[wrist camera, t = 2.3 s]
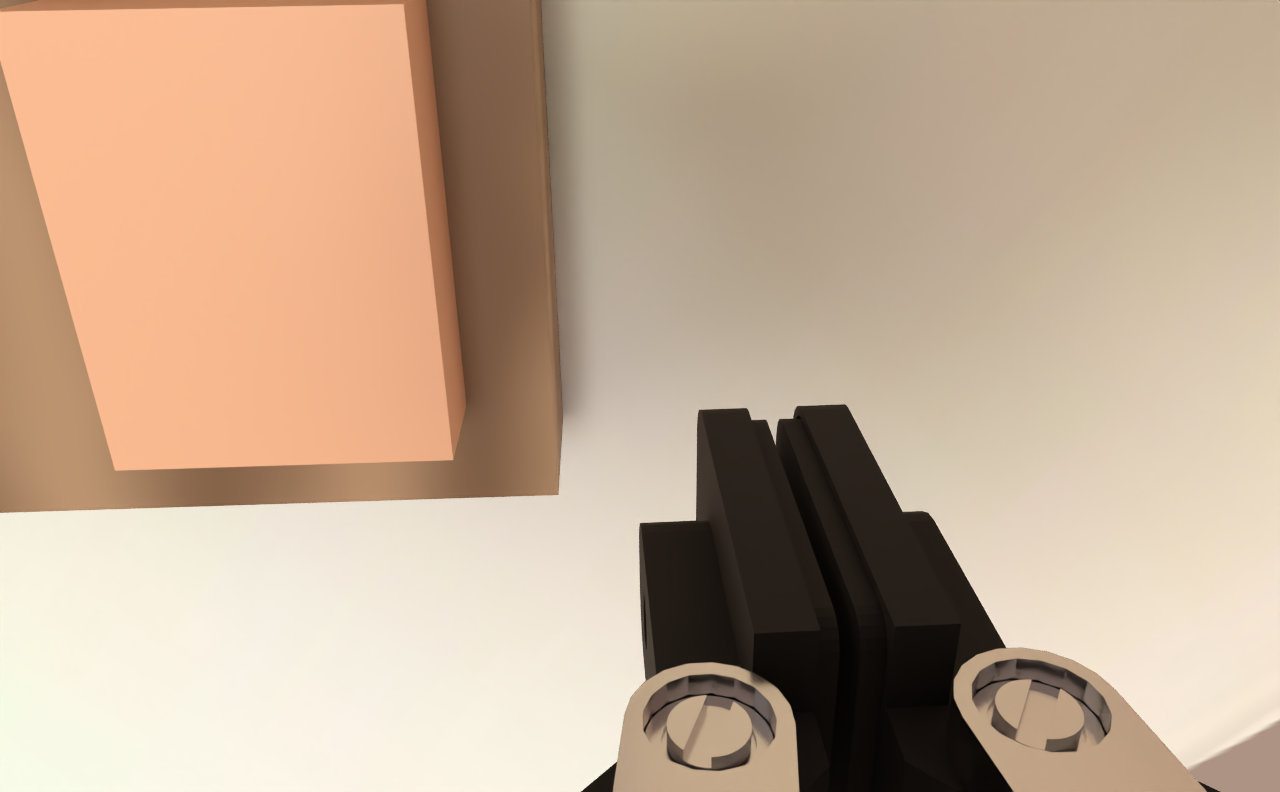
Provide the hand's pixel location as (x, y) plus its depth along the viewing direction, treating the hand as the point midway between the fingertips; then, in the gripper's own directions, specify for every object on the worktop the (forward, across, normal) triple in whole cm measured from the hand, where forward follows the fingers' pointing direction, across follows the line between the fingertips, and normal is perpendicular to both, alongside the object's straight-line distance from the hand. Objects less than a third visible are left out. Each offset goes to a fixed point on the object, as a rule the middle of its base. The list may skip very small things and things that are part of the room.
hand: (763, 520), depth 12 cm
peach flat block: (+12, +8, 0) cm, 14 cm away
